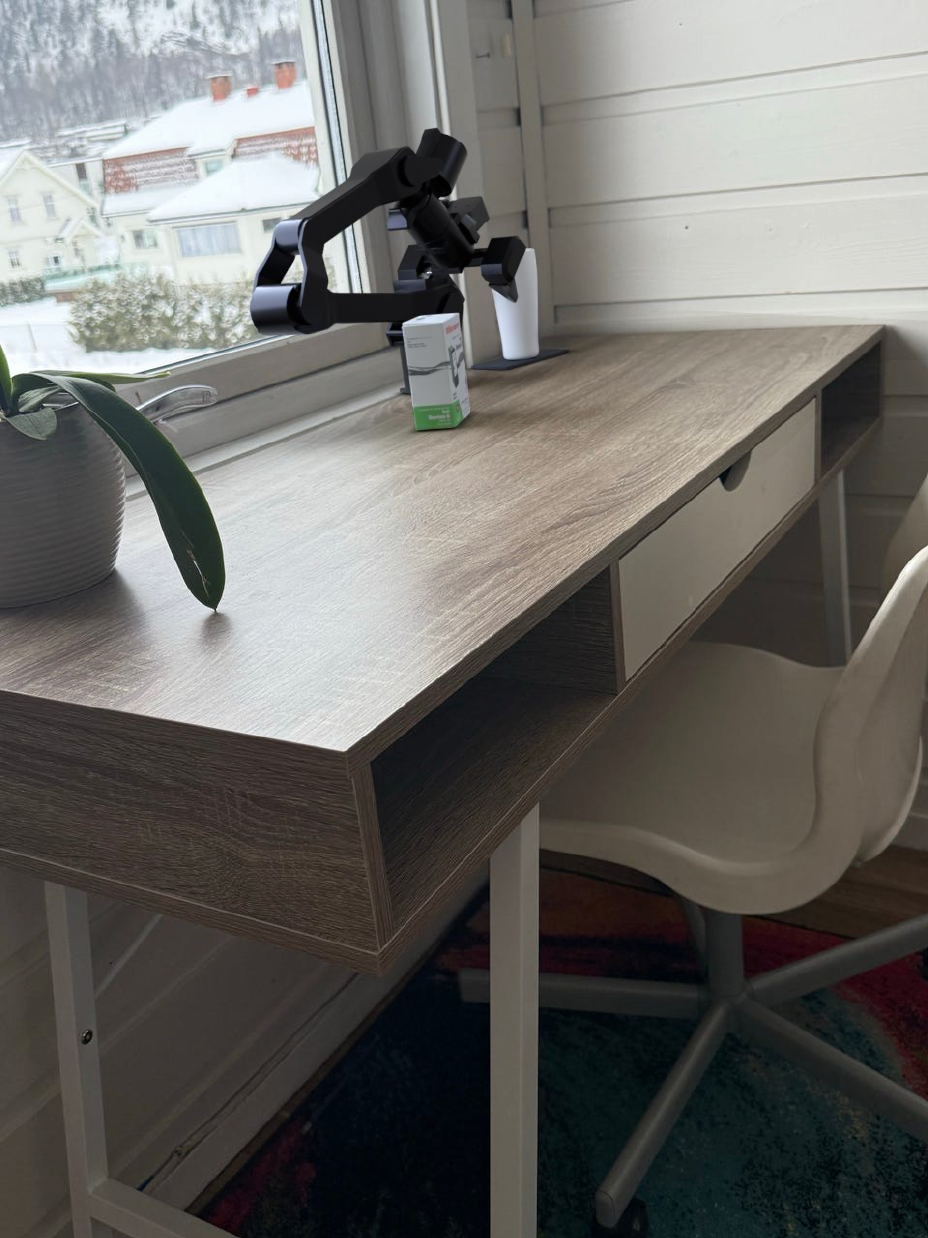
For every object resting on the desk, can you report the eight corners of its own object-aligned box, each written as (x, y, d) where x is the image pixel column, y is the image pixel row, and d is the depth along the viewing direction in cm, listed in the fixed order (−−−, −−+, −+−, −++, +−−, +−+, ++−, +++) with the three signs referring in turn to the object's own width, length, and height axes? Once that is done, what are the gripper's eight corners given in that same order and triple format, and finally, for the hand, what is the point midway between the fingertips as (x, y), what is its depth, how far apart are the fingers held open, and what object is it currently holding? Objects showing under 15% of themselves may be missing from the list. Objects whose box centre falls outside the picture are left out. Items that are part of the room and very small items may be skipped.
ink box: (456, 428, 128) (443, 320, 124) (413, 431, 129) (399, 324, 125) (472, 412, 136) (460, 310, 131) (431, 415, 137) (418, 314, 133)
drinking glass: (523, 362, 164) (513, 253, 159) (489, 361, 168) (477, 255, 163) (553, 353, 168) (544, 247, 163) (519, 352, 173) (509, 249, 168)
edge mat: (506, 369, 162) (506, 367, 162) (471, 368, 167) (470, 365, 167) (569, 351, 171) (569, 349, 171) (534, 351, 176) (533, 348, 176)
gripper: (510, 169, 146) (564, 249, 158) (398, 183, 157) (456, 257, 169) (481, 240, 143) (537, 317, 155) (369, 249, 154) (429, 321, 166)
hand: (489, 300), depth 161 cm, fingers open, 9 cm apart
